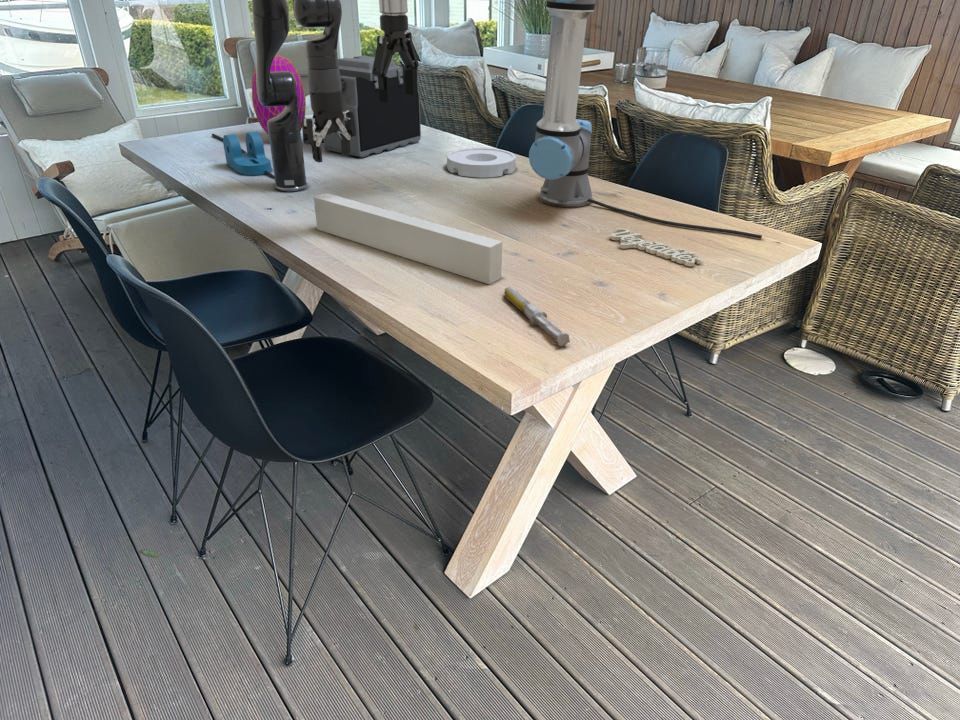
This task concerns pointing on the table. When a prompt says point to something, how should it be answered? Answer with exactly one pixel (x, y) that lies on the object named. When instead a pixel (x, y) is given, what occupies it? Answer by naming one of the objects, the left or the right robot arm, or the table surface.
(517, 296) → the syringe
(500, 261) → the bar
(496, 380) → the table surface
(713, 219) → the table surface
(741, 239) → the table surface
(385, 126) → the electronic device
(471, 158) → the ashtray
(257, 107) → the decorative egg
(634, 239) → the decorative sign
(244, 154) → the camera mount
